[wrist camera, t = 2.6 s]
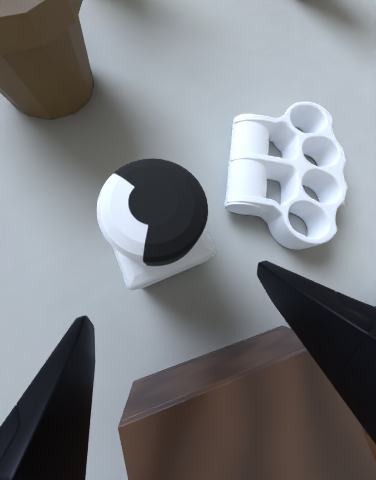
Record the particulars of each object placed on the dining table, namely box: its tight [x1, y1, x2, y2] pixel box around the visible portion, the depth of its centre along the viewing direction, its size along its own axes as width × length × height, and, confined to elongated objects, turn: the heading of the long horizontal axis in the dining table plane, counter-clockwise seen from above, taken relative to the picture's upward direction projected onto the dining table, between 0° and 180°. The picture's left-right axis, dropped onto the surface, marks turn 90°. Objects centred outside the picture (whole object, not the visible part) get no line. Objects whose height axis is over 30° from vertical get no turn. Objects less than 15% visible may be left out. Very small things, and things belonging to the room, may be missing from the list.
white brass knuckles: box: [224, 102, 348, 250], centre depth 24 cm, size 3×18×15 cm
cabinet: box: [118, 326, 376, 480], centre depth 16 cm, size 16×12×6 cm
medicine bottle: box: [97, 159, 216, 290], centre depth 16 cm, size 7×7×12 cm
